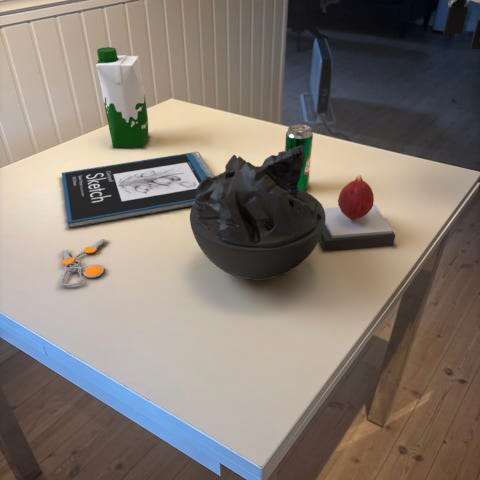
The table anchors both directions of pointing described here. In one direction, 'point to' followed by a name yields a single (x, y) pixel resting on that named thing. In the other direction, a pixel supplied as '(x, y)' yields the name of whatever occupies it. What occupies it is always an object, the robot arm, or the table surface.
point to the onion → (356, 199)
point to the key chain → (88, 272)
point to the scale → (355, 230)
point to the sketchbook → (132, 188)
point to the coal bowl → (257, 217)
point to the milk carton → (123, 98)
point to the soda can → (304, 137)
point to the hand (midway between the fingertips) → (465, 41)
